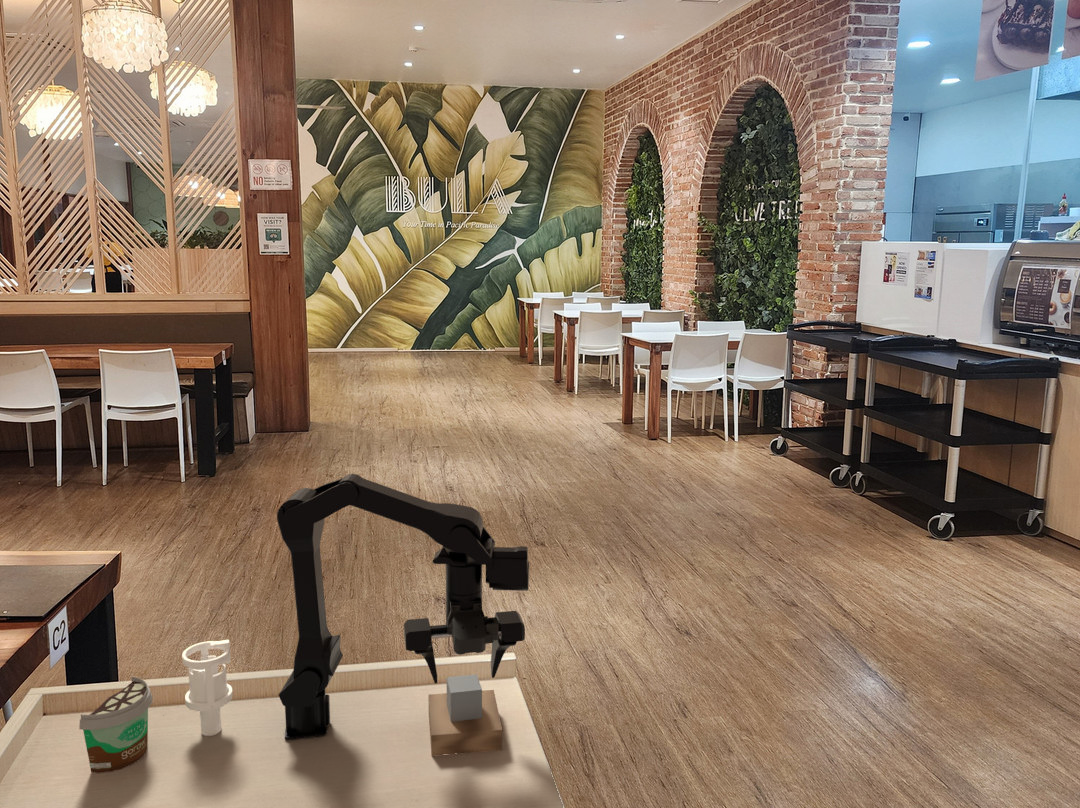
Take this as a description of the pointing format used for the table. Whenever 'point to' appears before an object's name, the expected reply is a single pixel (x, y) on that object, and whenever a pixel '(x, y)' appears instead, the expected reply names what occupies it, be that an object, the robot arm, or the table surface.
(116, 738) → the food container
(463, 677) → the slate cube
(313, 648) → the robot arm
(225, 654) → the strainer
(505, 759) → the table surface
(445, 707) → the block
